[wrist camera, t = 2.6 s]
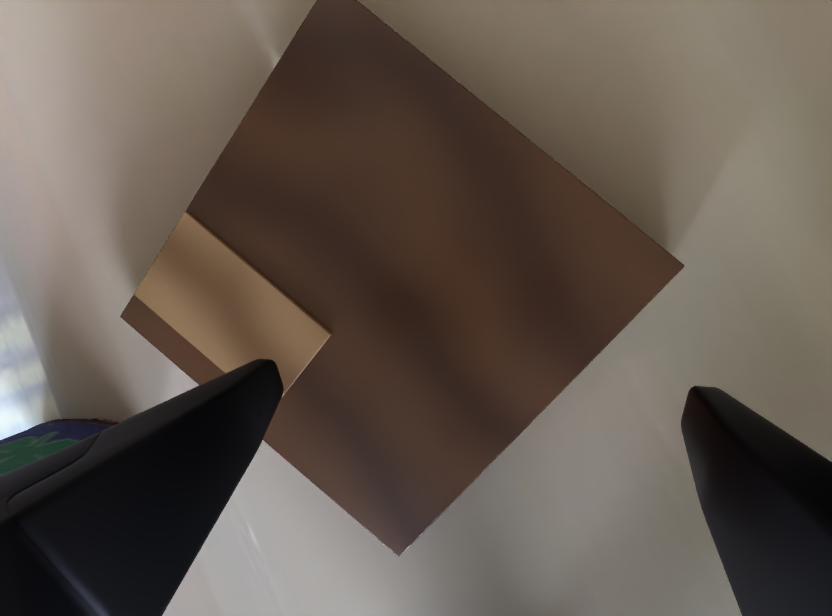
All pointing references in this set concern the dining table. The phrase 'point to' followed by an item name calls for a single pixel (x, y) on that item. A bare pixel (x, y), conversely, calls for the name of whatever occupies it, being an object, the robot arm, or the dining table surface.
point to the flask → (46, 440)
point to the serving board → (392, 272)
